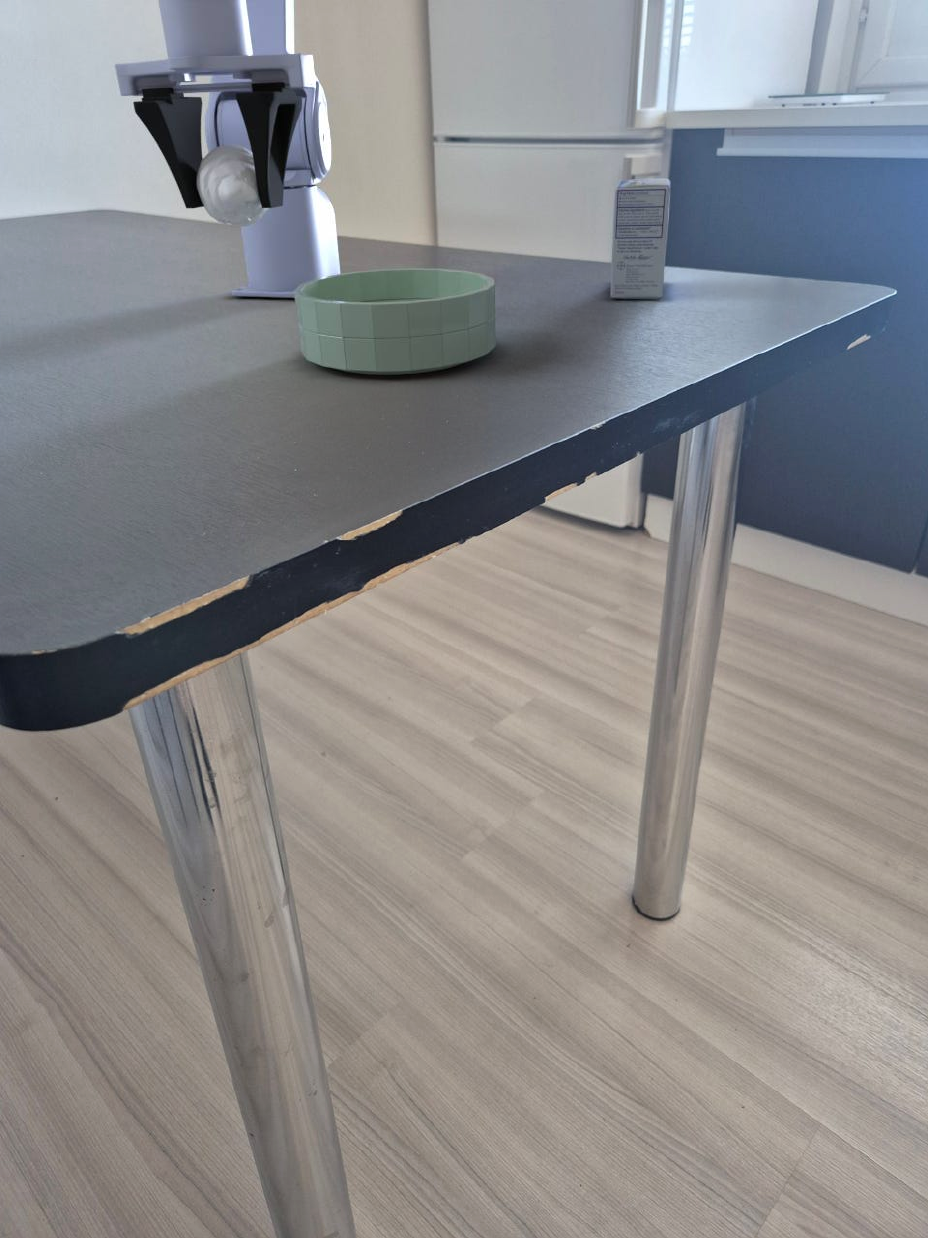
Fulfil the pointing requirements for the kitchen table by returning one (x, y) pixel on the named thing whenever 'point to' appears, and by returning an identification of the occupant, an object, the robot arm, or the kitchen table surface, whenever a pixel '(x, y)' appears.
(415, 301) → the bowl
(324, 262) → the robot arm
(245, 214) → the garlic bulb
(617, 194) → the medicine box
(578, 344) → the kitchen table surface
